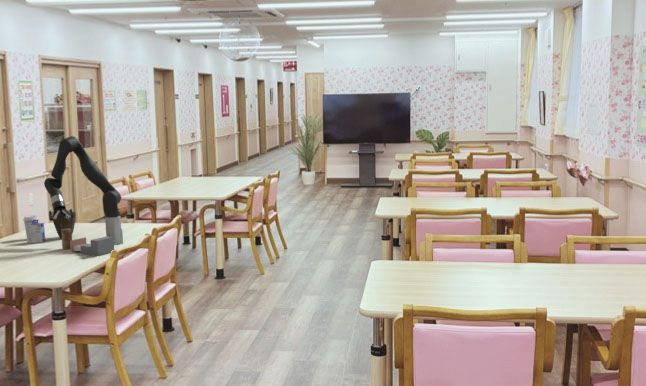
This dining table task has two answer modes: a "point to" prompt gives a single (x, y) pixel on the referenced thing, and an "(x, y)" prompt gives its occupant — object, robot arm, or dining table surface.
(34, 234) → the ink cartridge box
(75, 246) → the dock tray
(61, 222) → the plant pot
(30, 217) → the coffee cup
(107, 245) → the block
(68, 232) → the walnut block
